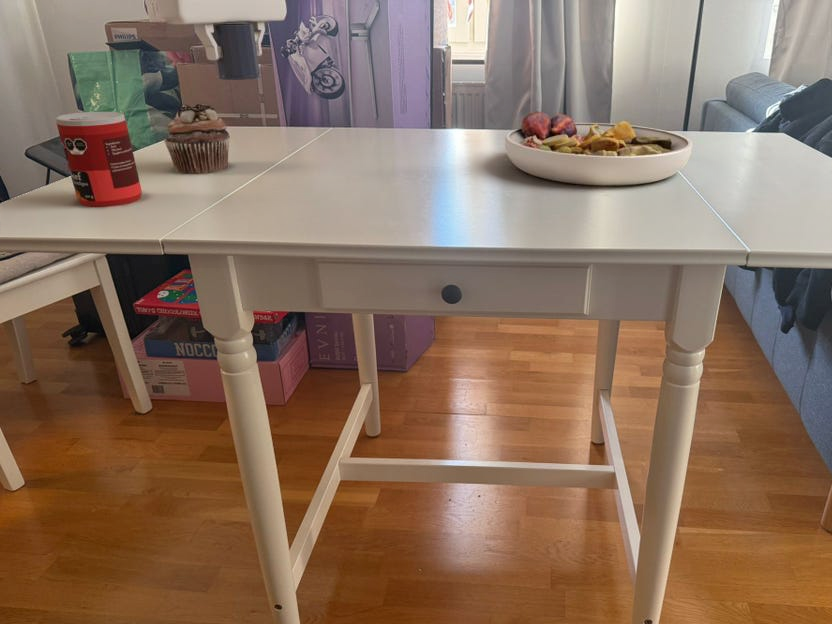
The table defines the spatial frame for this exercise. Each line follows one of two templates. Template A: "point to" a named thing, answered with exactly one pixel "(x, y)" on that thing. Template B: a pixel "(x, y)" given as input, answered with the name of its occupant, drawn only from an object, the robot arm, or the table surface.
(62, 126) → the canned food
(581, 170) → the bowl
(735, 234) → the table surface
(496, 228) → the table surface
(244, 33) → the pot
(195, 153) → the cupcake
